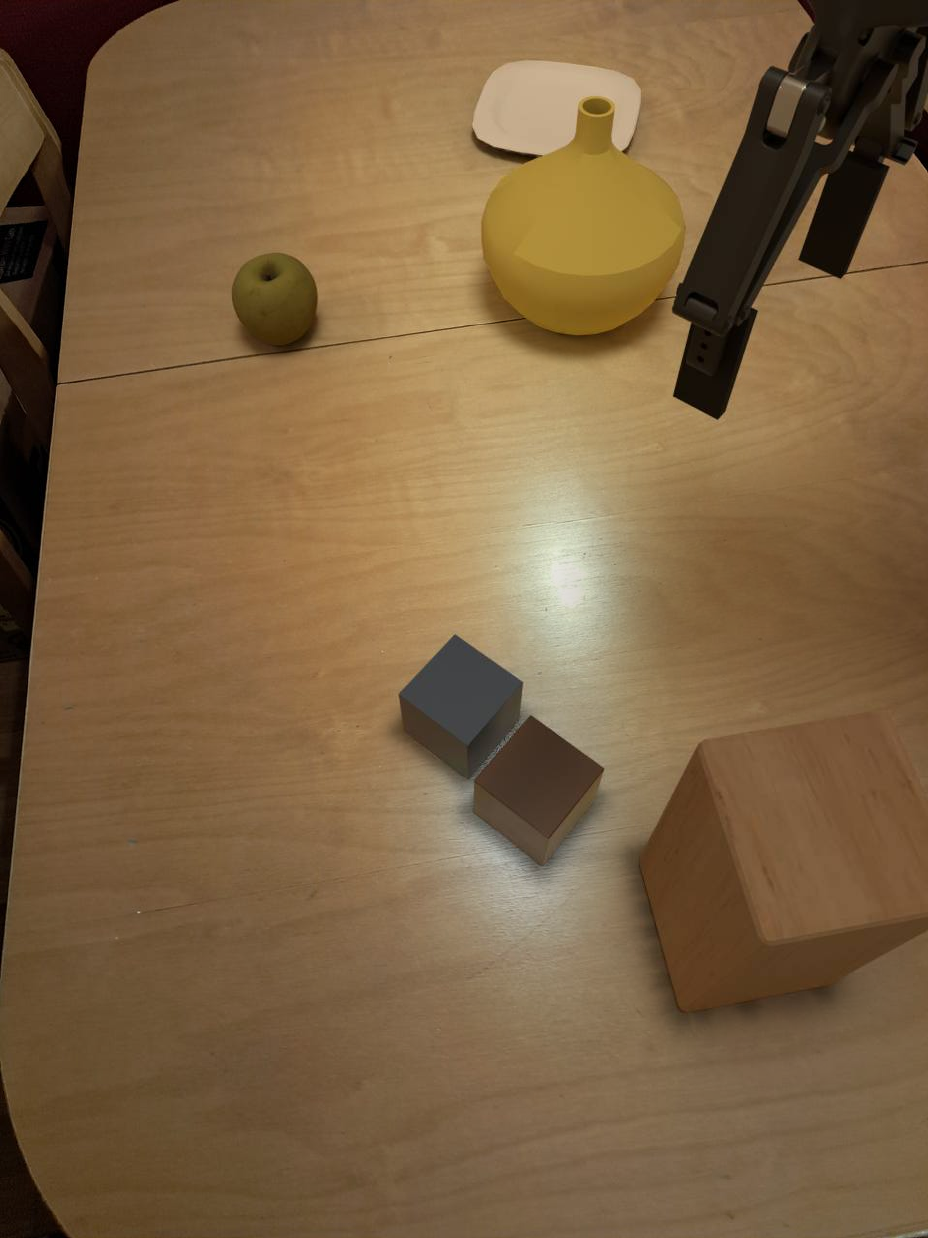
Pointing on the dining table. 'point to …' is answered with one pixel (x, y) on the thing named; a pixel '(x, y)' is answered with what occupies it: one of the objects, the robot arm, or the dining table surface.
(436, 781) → the dining table surface
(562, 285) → the vase
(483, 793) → the walnut block
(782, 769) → the wooden block
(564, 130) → the plate
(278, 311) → the apple
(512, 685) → the slate block
